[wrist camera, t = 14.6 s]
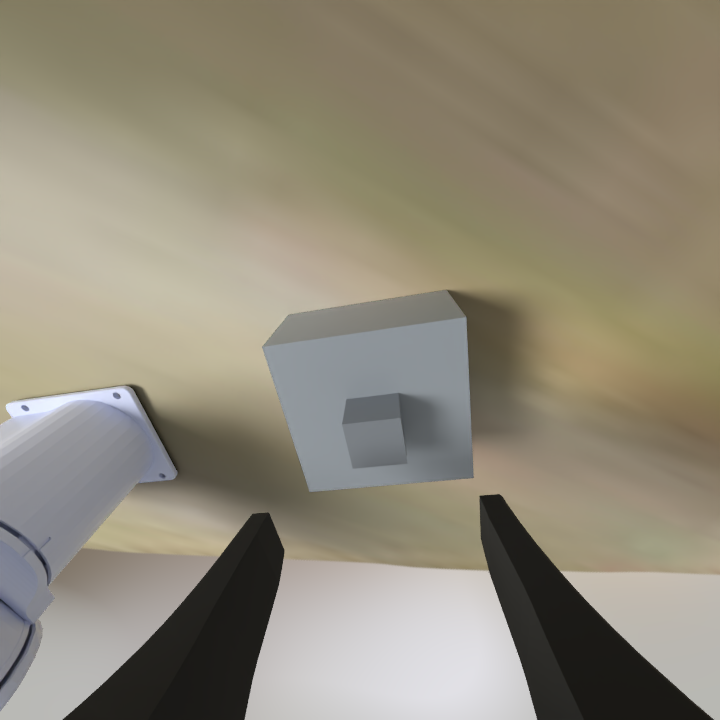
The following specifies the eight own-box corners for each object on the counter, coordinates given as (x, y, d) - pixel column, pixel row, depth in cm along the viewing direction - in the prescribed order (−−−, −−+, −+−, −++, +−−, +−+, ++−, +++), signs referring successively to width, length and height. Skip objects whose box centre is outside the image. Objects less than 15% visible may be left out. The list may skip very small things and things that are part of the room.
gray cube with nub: (323, 438, 23) (302, 522, 17) (288, 314, 19) (245, 367, 13) (455, 424, 22) (484, 509, 16) (446, 289, 18) (478, 334, 12)
